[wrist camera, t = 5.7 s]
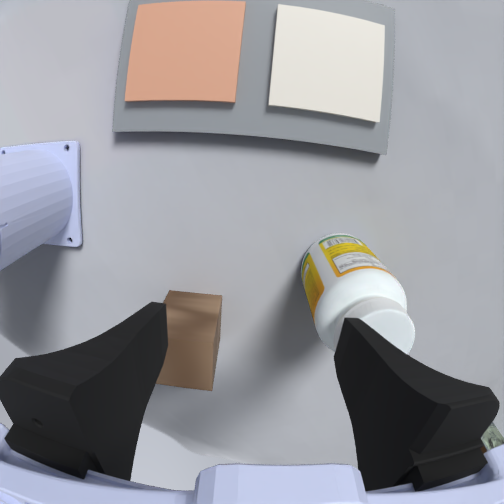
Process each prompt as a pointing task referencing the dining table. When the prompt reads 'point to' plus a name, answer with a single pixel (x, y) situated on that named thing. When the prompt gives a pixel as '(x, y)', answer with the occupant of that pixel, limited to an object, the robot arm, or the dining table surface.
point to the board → (259, 70)
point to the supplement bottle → (354, 291)
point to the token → (191, 340)
